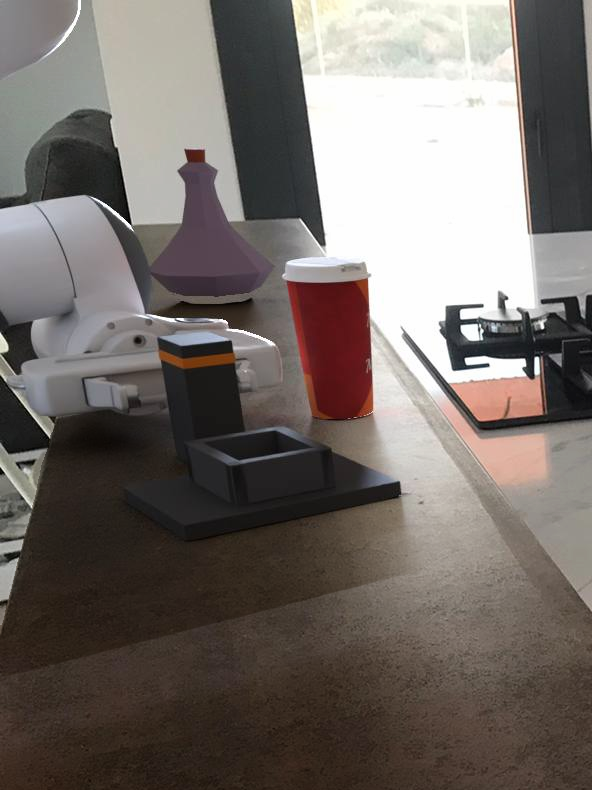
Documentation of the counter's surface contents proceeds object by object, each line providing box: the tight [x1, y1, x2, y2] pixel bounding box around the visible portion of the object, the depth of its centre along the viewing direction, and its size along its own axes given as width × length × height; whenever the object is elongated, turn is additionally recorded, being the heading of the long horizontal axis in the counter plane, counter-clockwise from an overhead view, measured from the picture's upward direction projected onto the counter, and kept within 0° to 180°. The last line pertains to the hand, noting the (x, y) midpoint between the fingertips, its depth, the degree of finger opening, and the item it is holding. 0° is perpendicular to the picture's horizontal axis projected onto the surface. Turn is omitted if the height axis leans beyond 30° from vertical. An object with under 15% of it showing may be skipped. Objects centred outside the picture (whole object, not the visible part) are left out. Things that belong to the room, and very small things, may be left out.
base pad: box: [121, 425, 402, 542], centre depth 96 cm, size 16×12×4 cm
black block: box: [157, 332, 246, 464], centre depth 104 cm, size 4×5×10 cm
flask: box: [149, 147, 276, 297], centre depth 176 cm, size 16×16×20 cm
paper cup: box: [281, 256, 374, 420], centre depth 119 cm, size 8×8×14 cm
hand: (191, 390), depth 105 cm, fingers open, 8 cm apart
